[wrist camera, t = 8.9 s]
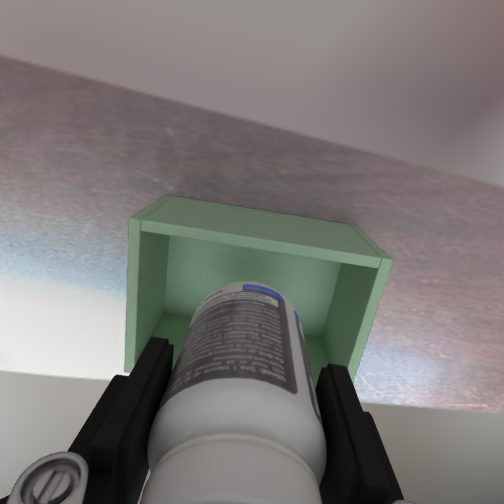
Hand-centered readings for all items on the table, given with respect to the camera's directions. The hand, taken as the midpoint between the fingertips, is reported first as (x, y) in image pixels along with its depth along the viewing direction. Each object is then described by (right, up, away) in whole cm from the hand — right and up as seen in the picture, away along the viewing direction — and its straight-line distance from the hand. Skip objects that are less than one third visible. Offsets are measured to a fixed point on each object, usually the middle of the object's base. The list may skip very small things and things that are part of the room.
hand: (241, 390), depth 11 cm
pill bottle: (0, +1, +4) cm, 4 cm away
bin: (0, +3, +9) cm, 10 cm away
